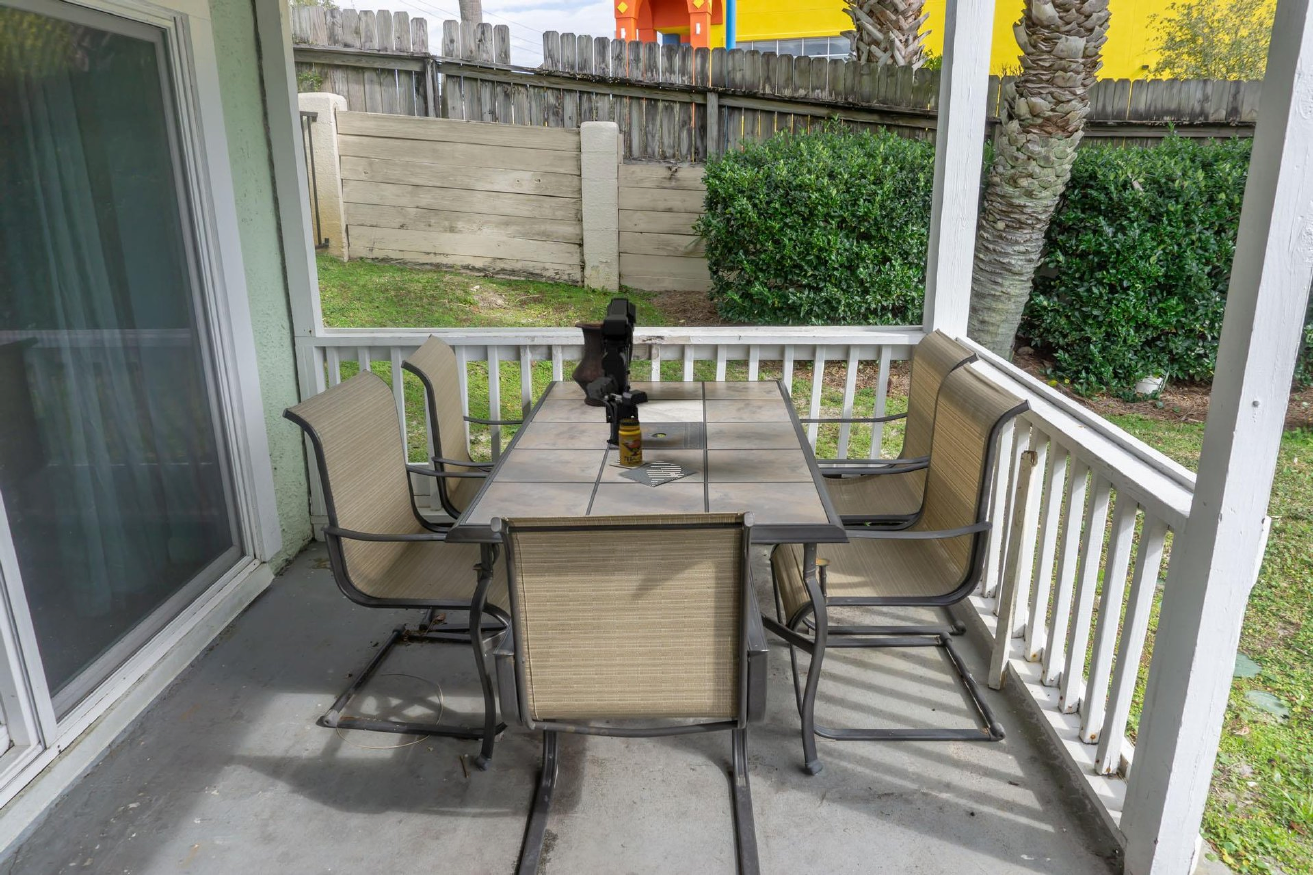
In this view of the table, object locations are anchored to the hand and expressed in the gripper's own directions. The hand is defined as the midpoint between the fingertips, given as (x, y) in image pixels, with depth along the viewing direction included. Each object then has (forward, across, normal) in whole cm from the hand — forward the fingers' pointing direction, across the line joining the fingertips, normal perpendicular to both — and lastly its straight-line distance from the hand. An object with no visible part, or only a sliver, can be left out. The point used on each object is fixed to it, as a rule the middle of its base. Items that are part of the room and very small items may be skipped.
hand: (616, 424), depth 237 cm
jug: (+10, -50, +38) cm, 63 cm away
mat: (+10, +15, 0) cm, 18 cm away
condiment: (+10, +4, 0) cm, 11 cm away
